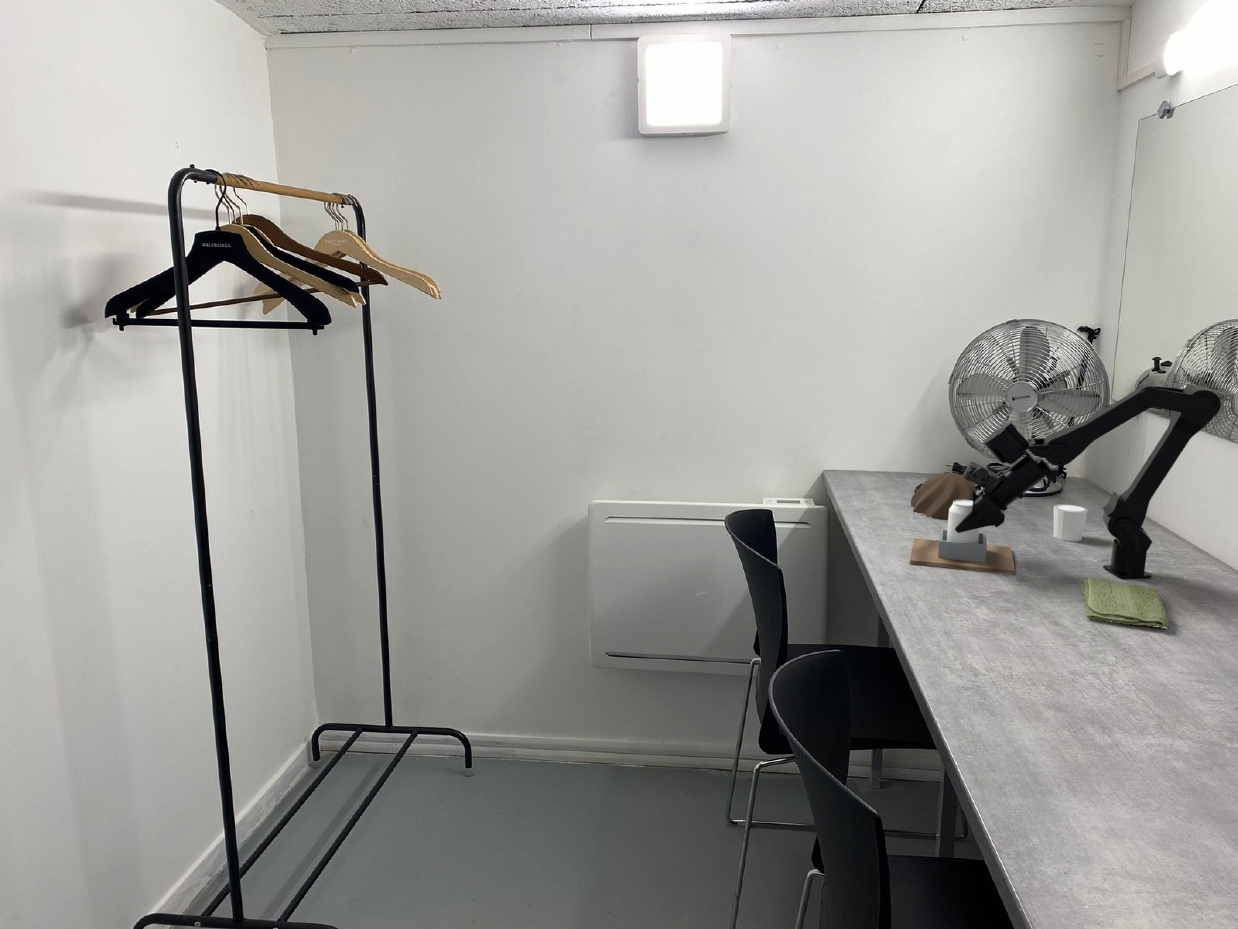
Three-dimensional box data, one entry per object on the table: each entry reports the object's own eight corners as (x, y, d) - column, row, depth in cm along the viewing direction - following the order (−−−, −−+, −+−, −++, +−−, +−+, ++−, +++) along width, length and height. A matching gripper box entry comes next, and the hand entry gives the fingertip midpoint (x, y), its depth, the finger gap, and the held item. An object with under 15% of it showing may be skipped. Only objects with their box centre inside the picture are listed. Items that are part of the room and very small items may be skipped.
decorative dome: (911, 519, 218) (913, 479, 216) (910, 499, 236) (912, 462, 234) (996, 525, 212) (999, 484, 210) (988, 504, 231) (991, 466, 229)
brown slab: (1010, 550, 193) (1011, 547, 192) (1014, 574, 178) (1014, 570, 178) (913, 541, 200) (914, 538, 199) (909, 563, 185) (909, 560, 185)
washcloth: (1084, 623, 155) (1085, 606, 154) (1079, 590, 170) (1081, 574, 170) (1171, 635, 149) (1174, 617, 149) (1158, 600, 165) (1160, 583, 164)
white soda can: (969, 552, 192) (973, 498, 189) (981, 561, 186) (986, 506, 183) (941, 552, 192) (945, 499, 189) (952, 562, 186) (956, 506, 183)
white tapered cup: (1077, 533, 204) (1080, 504, 203) (1089, 542, 198) (1093, 512, 196) (1046, 532, 205) (1049, 503, 204) (1057, 541, 198) (1060, 511, 197)
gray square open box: (984, 553, 191) (985, 532, 190) (985, 566, 183) (986, 545, 182) (938, 548, 195) (940, 528, 194) (937, 561, 186) (939, 540, 185)
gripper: (989, 442, 191) (931, 488, 197) (991, 460, 174) (927, 509, 180) (1025, 480, 190) (966, 525, 196) (1031, 502, 173) (966, 550, 179)
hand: (956, 526), depth 188 cm, fingers closed on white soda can, 6 cm apart
